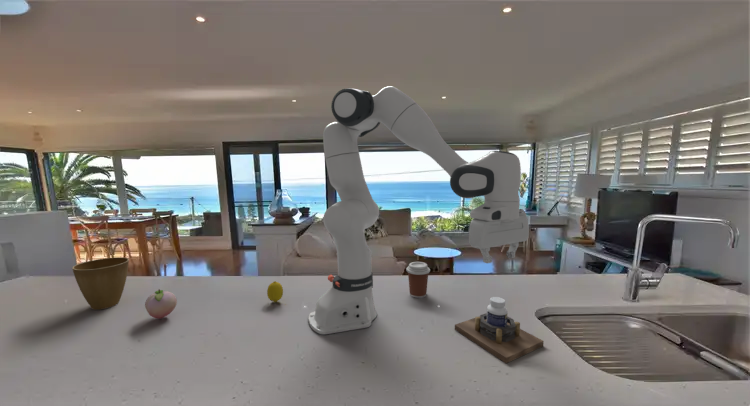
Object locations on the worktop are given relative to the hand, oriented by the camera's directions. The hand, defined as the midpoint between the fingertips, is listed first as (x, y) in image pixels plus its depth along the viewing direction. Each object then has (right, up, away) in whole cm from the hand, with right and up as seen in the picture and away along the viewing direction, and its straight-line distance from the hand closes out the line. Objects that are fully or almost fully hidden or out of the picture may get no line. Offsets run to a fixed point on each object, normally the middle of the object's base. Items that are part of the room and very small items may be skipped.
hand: (499, 260), depth 81 cm
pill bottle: (0, -21, +2) cm, 22 cm away
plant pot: (-133, -22, +26) cm, 137 cm away
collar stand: (0, -23, +2) cm, 23 cm away
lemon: (-72, -21, +27) cm, 79 cm away
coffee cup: (-18, -20, +32) cm, 42 cm away
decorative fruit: (-105, -23, +16) cm, 109 cm away
